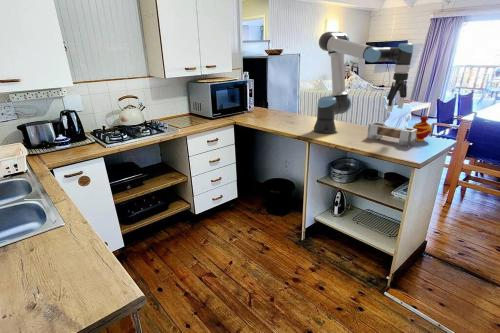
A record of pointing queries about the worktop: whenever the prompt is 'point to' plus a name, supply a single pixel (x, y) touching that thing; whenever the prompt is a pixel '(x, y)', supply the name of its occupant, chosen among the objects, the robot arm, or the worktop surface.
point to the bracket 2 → (408, 137)
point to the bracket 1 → (374, 130)
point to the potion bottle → (422, 129)
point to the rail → (389, 131)
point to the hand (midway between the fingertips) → (394, 109)
